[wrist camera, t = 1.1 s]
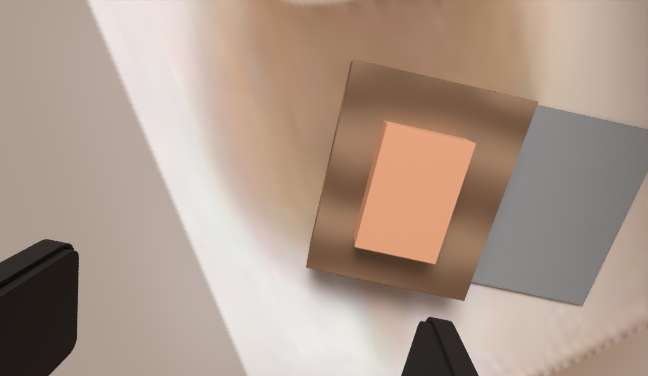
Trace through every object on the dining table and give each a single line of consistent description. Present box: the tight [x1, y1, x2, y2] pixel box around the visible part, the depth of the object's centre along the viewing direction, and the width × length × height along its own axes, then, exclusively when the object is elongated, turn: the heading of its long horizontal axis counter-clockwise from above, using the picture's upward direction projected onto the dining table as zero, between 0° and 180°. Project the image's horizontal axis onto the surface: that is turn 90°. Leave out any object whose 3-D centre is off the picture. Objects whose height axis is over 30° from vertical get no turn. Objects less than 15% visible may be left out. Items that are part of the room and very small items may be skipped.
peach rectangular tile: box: [353, 120, 476, 264], centre depth 26 cm, size 9×6×2 cm, turn 168°
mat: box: [471, 105, 648, 306], centre depth 31 cm, size 16×12×1 cm
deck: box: [306, 59, 538, 301], centre depth 29 cm, size 16×13×4 cm
